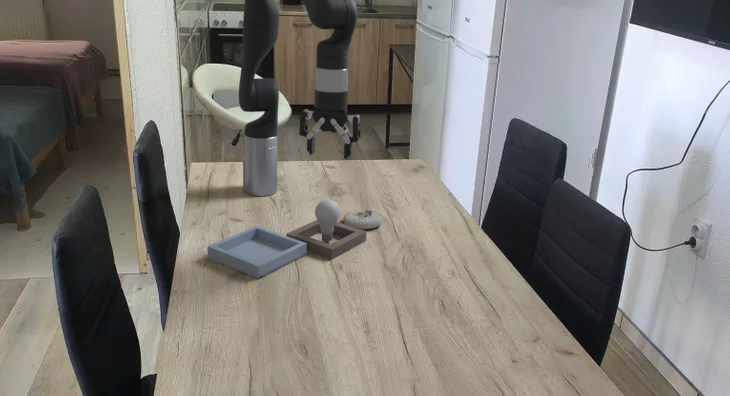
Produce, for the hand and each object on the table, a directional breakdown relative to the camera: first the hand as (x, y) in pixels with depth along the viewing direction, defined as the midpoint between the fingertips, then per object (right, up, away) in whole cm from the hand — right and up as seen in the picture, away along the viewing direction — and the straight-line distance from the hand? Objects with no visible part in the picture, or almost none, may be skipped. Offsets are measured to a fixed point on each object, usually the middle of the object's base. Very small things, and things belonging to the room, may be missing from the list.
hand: (329, 156), depth 153 cm
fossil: (+8, -17, +20) cm, 28 cm away
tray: (-17, -23, -2) cm, 29 cm away
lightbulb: (-1, -21, +8) cm, 22 cm away
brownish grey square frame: (-1, -21, +8) cm, 22 cm away
